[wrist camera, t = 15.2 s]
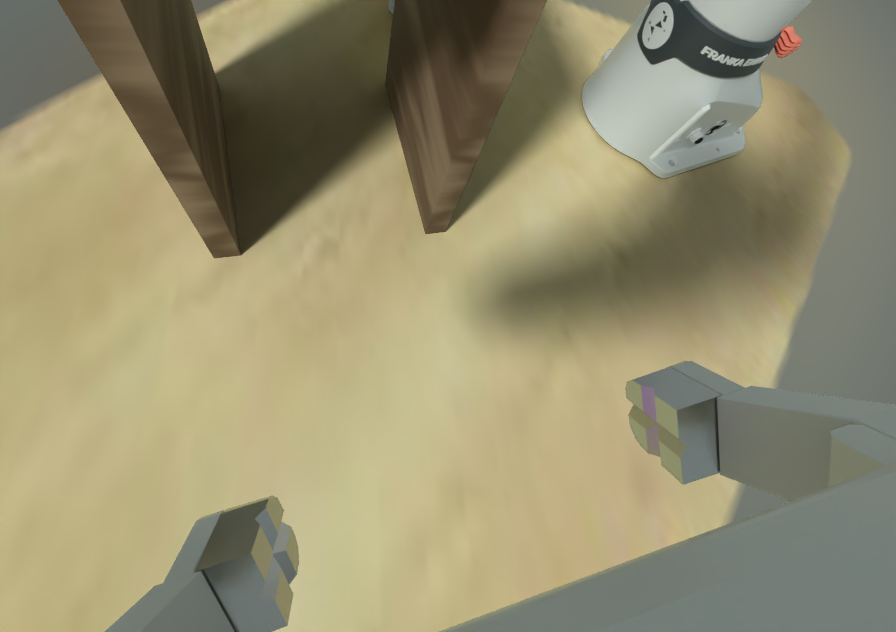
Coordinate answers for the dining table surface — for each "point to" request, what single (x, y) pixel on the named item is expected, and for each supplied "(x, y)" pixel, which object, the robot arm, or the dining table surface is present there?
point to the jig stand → (407, 82)
